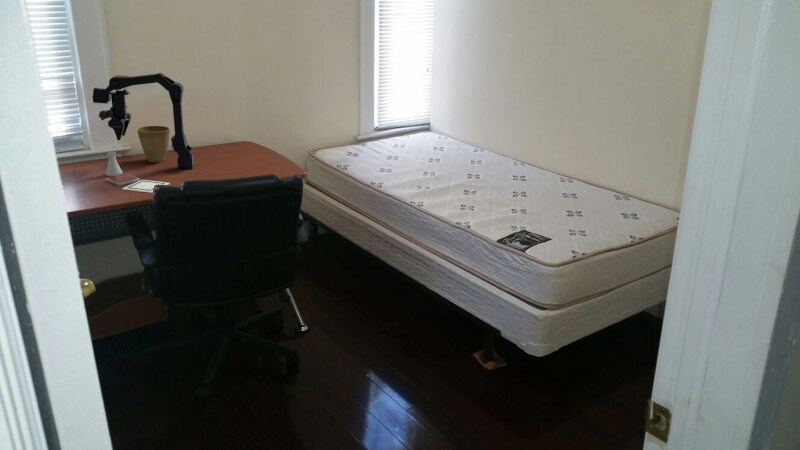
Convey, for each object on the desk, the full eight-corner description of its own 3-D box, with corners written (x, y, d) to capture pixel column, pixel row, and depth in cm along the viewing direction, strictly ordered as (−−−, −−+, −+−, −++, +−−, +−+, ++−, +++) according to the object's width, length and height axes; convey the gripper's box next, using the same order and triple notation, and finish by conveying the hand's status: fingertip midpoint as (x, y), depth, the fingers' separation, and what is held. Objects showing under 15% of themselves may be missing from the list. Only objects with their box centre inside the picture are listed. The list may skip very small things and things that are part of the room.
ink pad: (127, 176, 289) (127, 173, 289) (139, 181, 284) (139, 177, 283) (106, 180, 282) (105, 177, 281) (118, 185, 276) (117, 182, 276)
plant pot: (163, 165, 308) (159, 132, 302) (134, 163, 310) (130, 130, 304) (178, 158, 321) (175, 126, 316) (150, 155, 324) (147, 124, 318)
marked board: (141, 180, 284) (141, 179, 284) (170, 183, 282) (170, 182, 281) (122, 189, 272) (121, 188, 271) (151, 192, 269) (151, 191, 269)
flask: (116, 177, 287) (113, 155, 284) (101, 175, 289) (99, 154, 285) (126, 173, 294) (123, 151, 291) (111, 171, 295) (109, 150, 292)
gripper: (104, 99, 298) (107, 132, 303) (94, 107, 281) (97, 142, 286) (130, 100, 300) (132, 133, 305) (121, 108, 283) (123, 142, 288)
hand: (121, 137), depth 296 cm, fingers open, 9 cm apart
